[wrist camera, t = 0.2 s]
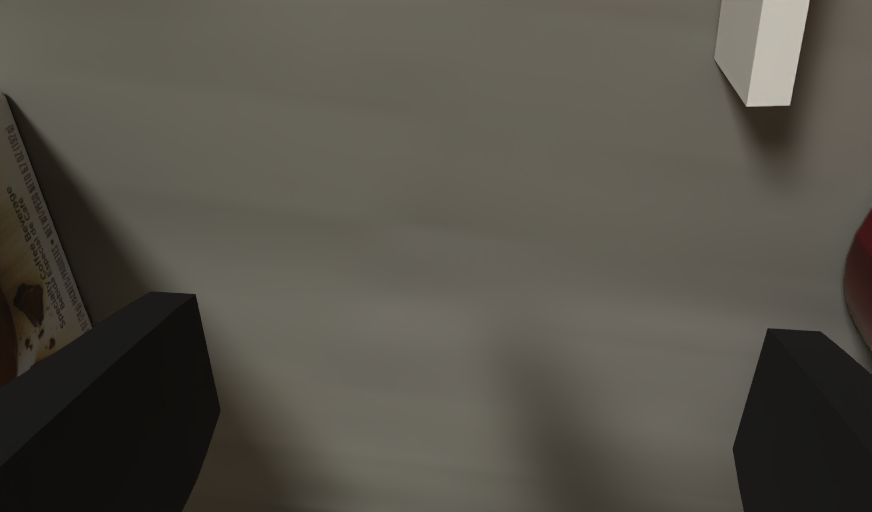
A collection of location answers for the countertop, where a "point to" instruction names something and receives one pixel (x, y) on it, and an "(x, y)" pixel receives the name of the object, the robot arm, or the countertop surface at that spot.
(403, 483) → the countertop surface
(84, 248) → the countertop surface
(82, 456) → the robot arm
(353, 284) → the countertop surface
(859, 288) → the soda can
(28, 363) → the coffee box
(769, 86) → the white tray
